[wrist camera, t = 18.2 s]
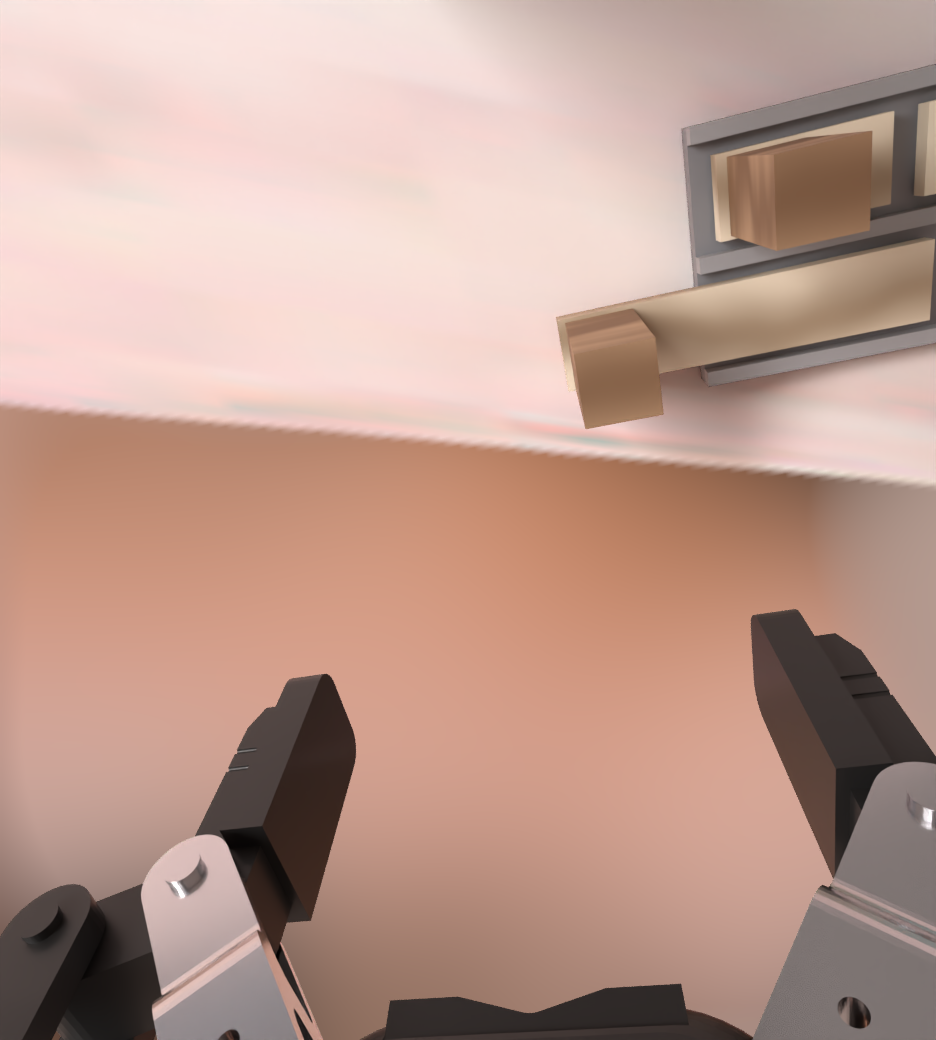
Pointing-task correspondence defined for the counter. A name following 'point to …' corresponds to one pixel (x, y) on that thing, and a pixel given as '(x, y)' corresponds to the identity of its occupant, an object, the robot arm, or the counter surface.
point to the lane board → (911, 215)
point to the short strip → (804, 184)
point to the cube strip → (737, 323)
